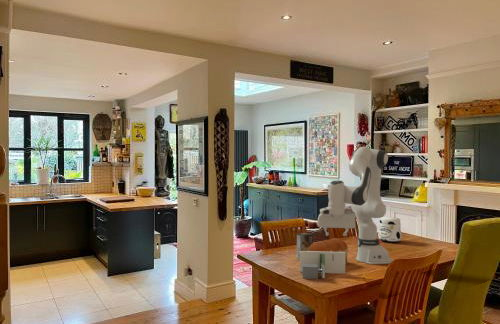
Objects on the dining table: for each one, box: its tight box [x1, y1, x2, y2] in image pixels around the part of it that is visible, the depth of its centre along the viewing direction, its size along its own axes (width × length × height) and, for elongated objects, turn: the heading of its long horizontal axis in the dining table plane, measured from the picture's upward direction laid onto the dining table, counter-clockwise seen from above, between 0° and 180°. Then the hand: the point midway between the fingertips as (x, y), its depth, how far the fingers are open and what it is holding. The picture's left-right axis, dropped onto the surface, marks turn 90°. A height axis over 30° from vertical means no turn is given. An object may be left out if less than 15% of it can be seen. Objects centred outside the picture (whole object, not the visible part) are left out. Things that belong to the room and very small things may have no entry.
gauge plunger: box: [302, 254, 326, 279], centre depth 205 cm, size 12×12×10 cm
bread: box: [307, 237, 349, 265], centre depth 229 cm, size 25×12×15 cm, turn 131°
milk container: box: [377, 216, 402, 243], centre depth 294 cm, size 17×17×18 cm
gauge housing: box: [299, 251, 346, 280], centre depth 206 cm, size 26×12×12 cm, turn 86°
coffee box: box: [296, 232, 314, 260], centre depth 241 cm, size 9×6×16 cm
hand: (336, 235), depth 202 cm, fingers open, 8 cm apart
